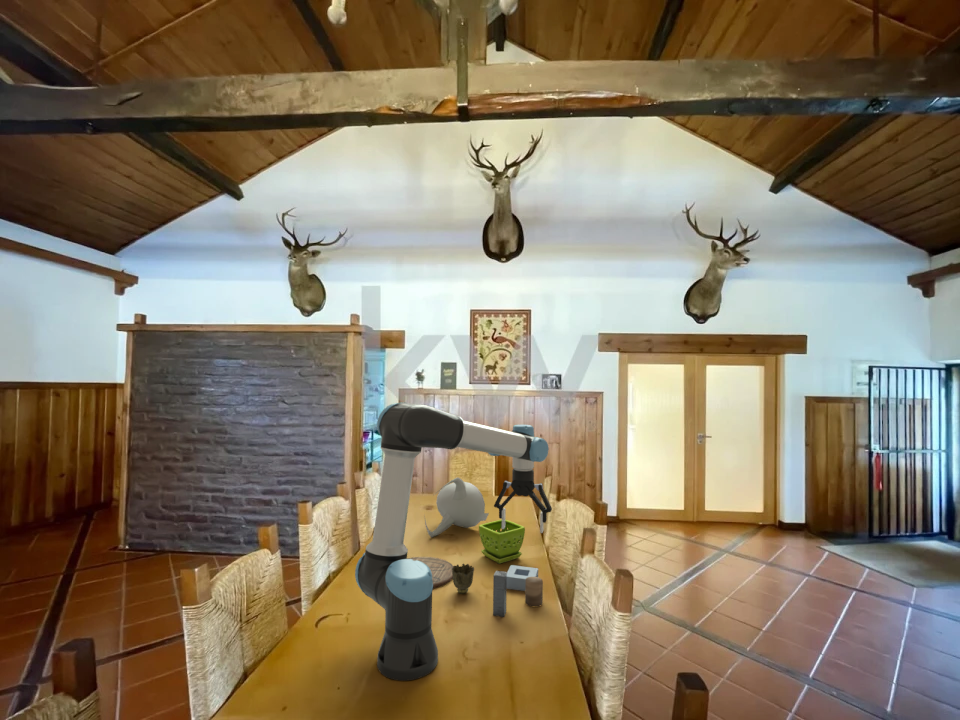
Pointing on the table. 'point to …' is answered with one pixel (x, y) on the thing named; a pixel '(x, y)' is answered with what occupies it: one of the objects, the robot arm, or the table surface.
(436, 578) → the trivet
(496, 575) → the square bit
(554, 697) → the table surface
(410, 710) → the table surface
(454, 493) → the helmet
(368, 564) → the robot arm
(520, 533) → the flower pot
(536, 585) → the brown short cylinder
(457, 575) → the ornate candle holder
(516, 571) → the bore block
